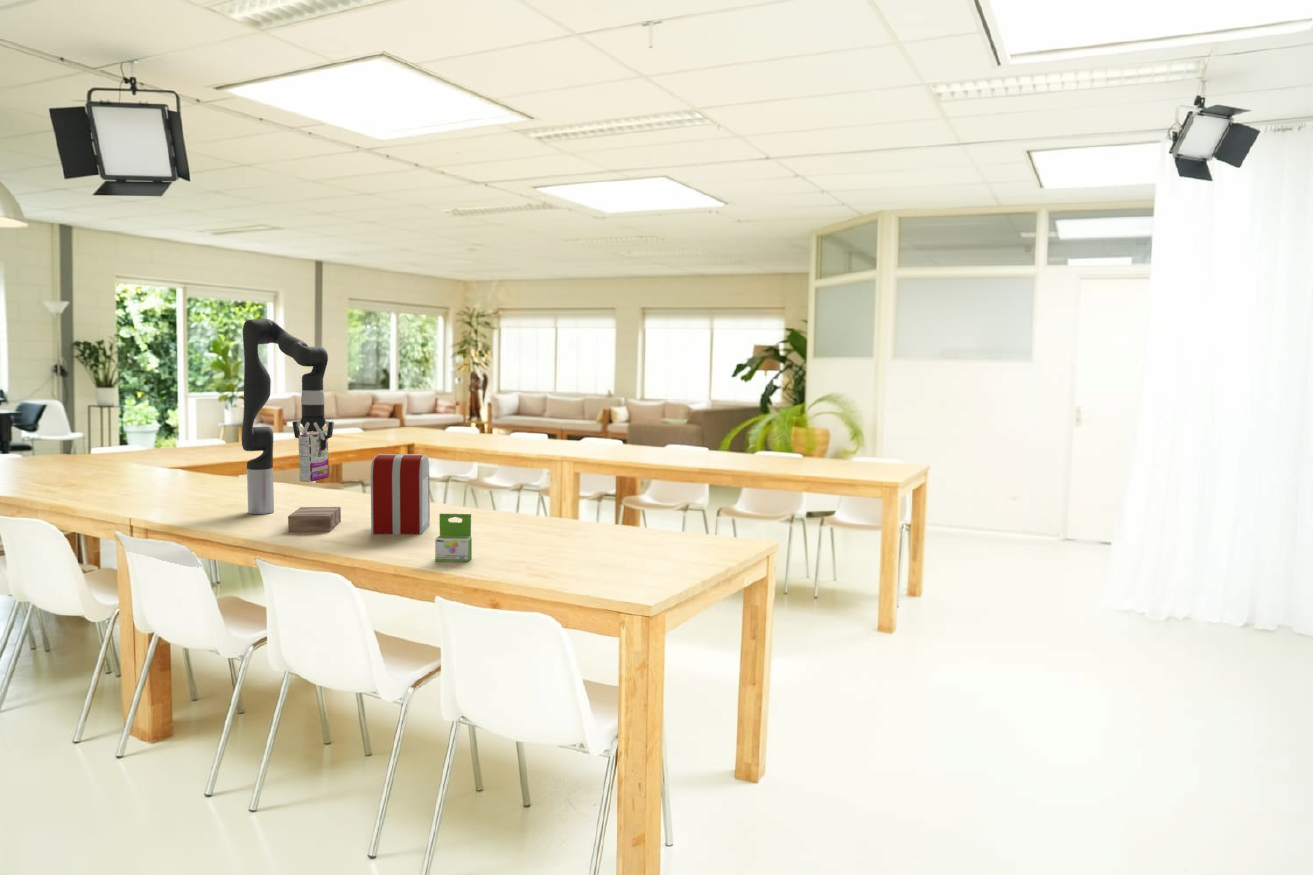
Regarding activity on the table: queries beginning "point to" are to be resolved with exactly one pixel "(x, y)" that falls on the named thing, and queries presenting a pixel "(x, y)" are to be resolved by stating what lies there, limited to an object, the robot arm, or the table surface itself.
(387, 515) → the red grey rounded block
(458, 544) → the ink box
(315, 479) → the candy bar box
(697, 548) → the table surface
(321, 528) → the walnut block
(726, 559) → the table surface
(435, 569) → the table surface
